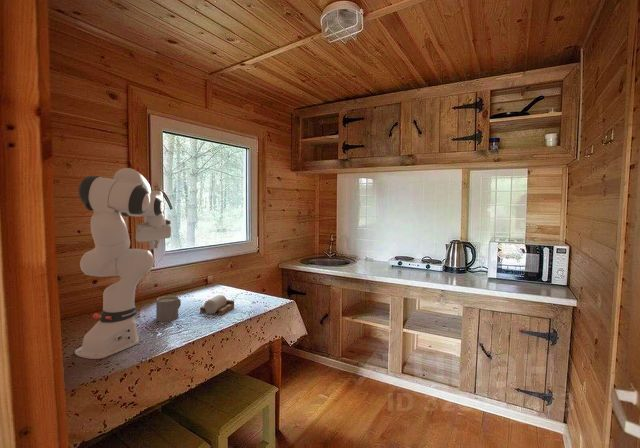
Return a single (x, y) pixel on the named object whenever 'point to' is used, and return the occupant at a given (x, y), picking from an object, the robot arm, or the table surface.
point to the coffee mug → (167, 308)
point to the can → (215, 304)
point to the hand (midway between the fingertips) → (154, 248)
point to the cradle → (221, 311)
